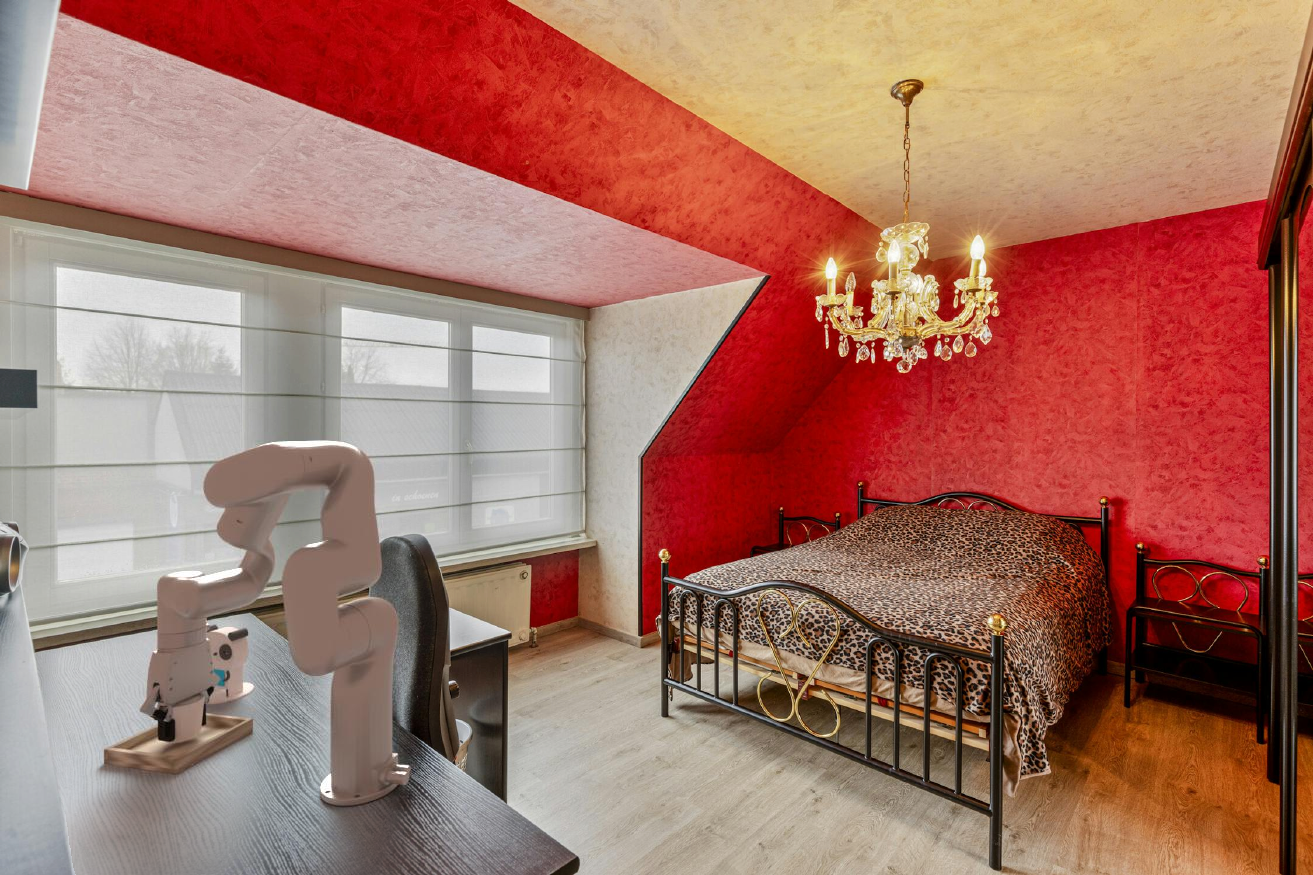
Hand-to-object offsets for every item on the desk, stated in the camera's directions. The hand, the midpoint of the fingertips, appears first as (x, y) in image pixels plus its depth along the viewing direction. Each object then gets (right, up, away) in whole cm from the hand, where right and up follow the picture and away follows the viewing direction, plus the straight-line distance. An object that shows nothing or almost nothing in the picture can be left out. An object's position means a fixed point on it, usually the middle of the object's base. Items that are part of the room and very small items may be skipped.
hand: (182, 731), depth 119 cm
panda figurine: (-9, -3, +24) cm, 26 cm away
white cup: (0, -1, 0) cm, 1 cm away
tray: (0, -3, 0) cm, 3 cm away
